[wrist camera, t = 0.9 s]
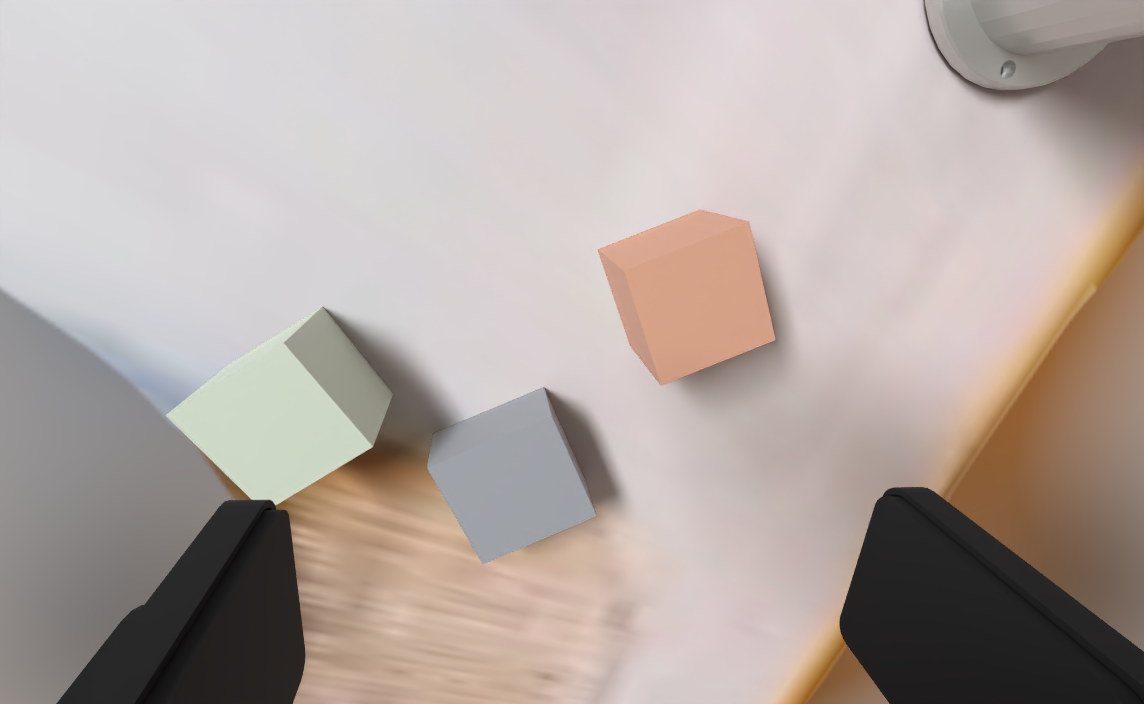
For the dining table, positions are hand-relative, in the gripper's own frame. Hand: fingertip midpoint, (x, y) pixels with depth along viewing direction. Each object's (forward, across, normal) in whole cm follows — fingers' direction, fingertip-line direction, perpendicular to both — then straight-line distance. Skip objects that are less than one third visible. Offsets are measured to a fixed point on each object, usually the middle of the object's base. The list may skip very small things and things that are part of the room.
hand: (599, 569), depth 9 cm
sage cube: (+22, +11, +6) cm, 26 cm away
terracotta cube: (+22, -8, 0) cm, 24 cm away
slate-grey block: (+22, 0, +11) cm, 25 cm away
